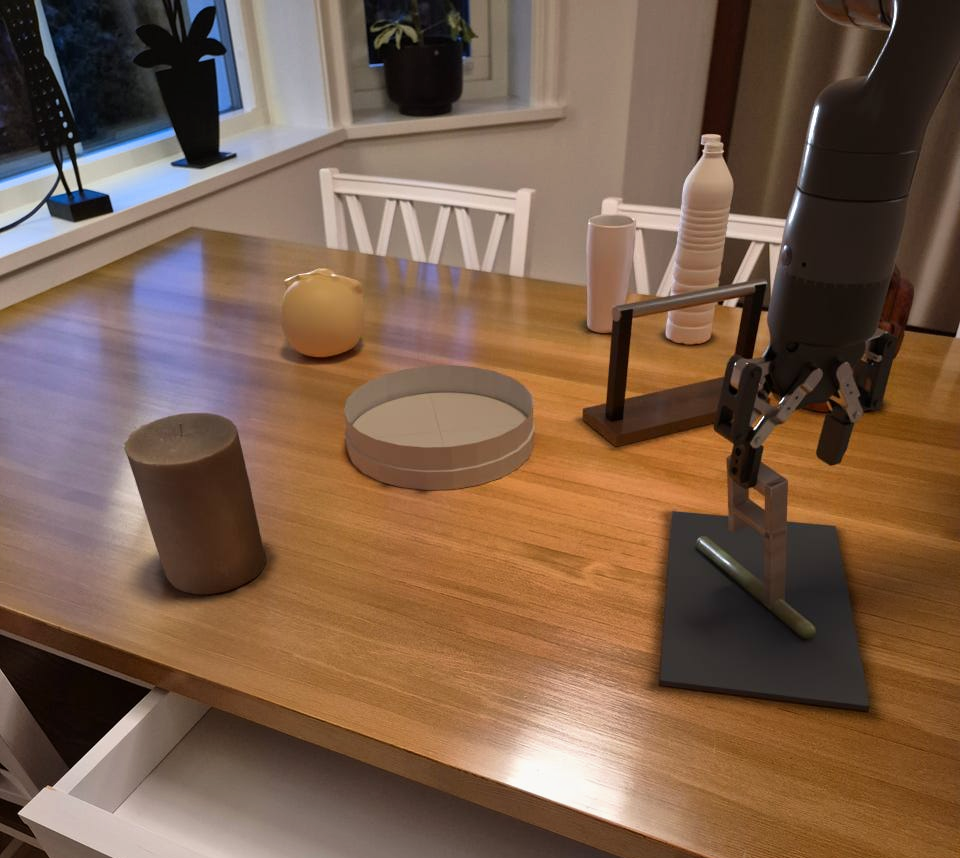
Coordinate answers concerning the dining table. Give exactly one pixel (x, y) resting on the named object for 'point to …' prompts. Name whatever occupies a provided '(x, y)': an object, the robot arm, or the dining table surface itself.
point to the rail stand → (676, 405)
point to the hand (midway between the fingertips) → (785, 472)
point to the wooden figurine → (889, 318)
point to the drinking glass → (608, 267)
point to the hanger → (774, 531)
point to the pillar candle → (197, 501)
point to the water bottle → (700, 241)
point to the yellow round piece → (322, 313)
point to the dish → (439, 427)
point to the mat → (759, 618)
